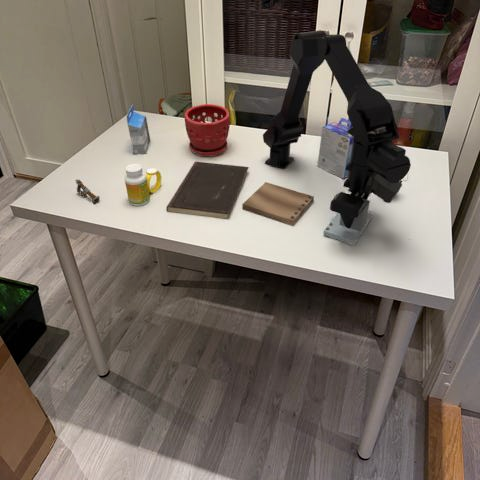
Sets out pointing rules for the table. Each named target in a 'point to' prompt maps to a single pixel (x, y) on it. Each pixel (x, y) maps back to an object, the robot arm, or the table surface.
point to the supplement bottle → (136, 185)
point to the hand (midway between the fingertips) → (353, 219)
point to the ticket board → (278, 203)
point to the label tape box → (138, 131)
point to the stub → (345, 234)
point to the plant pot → (207, 129)
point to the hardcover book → (208, 190)
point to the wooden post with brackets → (86, 191)
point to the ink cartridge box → (335, 148)
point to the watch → (158, 181)
